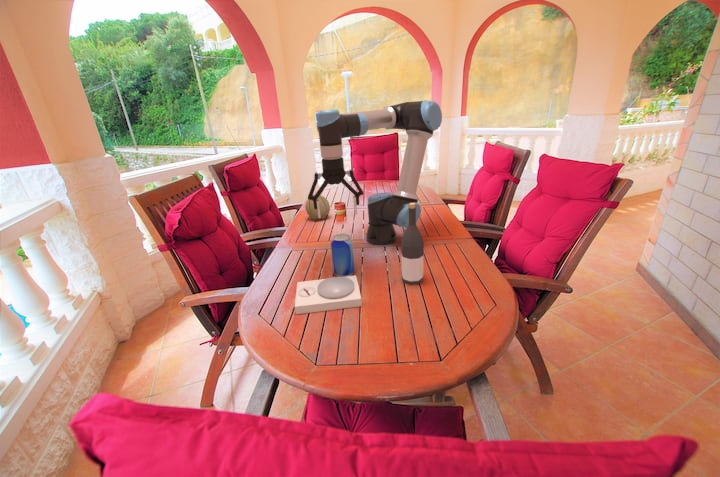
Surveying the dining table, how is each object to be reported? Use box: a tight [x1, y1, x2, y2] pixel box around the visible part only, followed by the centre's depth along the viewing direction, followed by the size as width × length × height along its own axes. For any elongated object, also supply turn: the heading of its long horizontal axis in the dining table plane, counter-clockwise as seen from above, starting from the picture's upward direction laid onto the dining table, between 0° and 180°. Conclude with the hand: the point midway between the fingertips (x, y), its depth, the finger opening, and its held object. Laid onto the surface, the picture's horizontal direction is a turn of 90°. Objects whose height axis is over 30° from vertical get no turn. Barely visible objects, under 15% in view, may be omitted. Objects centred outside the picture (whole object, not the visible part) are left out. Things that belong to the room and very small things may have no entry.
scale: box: [294, 275, 363, 315], centre depth 111 cm, size 22×16×4 cm
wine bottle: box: [400, 203, 425, 286], centre depth 114 cm, size 8×8×30 cm
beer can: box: [330, 233, 355, 277], centre depth 125 cm, size 8×8×16 cm
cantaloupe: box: [305, 194, 331, 220], centre depth 191 cm, size 15×15×15 cm
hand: (337, 215), depth 118 cm, fingers open, 13 cm apart
